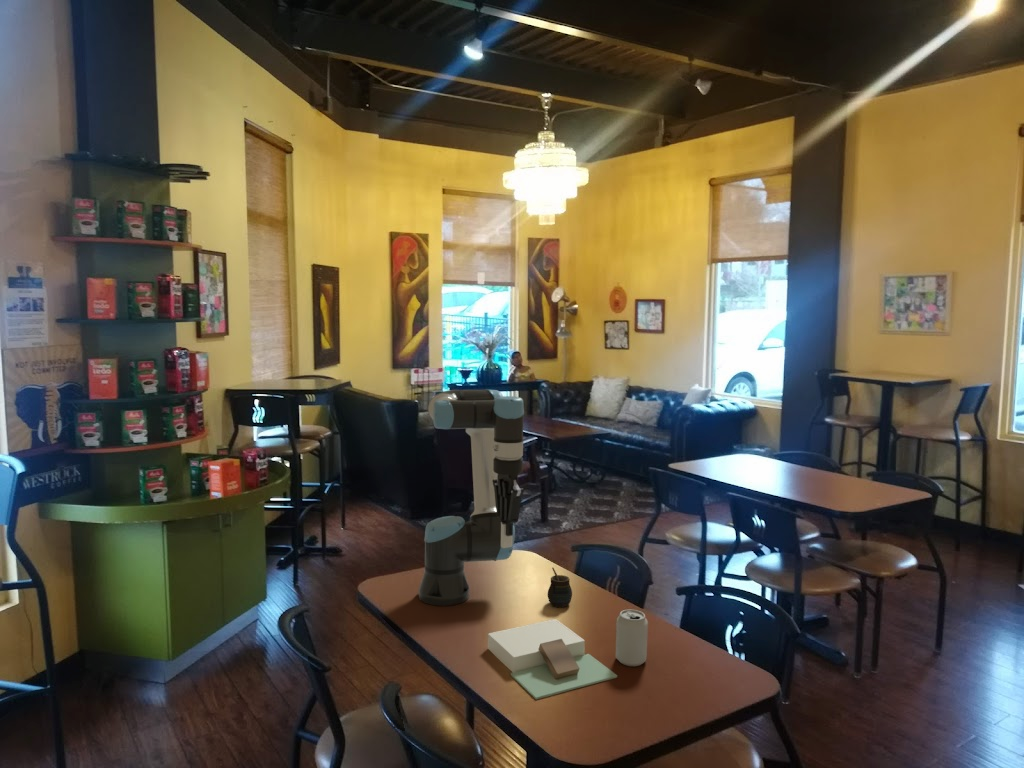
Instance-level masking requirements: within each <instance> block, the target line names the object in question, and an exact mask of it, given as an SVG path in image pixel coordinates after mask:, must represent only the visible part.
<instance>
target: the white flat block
mask: <svg viewBox="0 0 1024 768" xmlns="http://www.w3.org/2000/svg"><path fill="white" fill-rule="evenodd" d="M558 639H562V640H563V642H564V643H565V645H566V647H567V648H568V650H569V652H570V653H571V655H572V656H573V657H577V656H581V655H585V652H586V648H585V647H586V640H585V639H584V638H582V637H581V636H579V634H577V633H575V631H573V630H571V628H569V627H567V626H566V625H565V624H563V623H562V622H560V621H559V620H558V619H556V618H555V619H554V618H553V619H549V620H545V621H539V622H535V623H530V624H527V625H520V626H517V627H511V628H508V629H503V630H497V631H494V632H489V633H488V634H487V649H488V651H490V652H491V654H493V655H494V656H495V657H496V658H497V659H498V660H499V661H500V663H502V664H503V665H504V666H505V667H506V668H507V669H508V670H509V671H511V673H513V672H517V671H521V670H525V669H529V668H533V667H537V666H541V665H545V664H546V662H545V660H544V658H543V657H542V655H541V653H540V651H539V650H538V649H539V646H540V644H541V643H545V642H550V641H554V640H558Z"/></svg>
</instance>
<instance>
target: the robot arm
mask: <svg viewBox="0 0 1024 768" xmlns="http://www.w3.org/2000/svg"><path fill="white" fill-rule="evenodd" d="M427 411H428V415H429V417H430V419H431V420H432V423H433V427H434V428H435V429H437V430H438V429H440V430H457V429H458V430H460V429H461V430H462V429H465V433H466V434H467V435H468V436H470V444H471V448H470V449H471V464H472V465H471V466H472V467H471V468H472V482H473V484H472V485H473V503H474V504H473V505H474V511H473V512H472V513H471V515H470V516H469V521H465V518H463V517H462V516H459V515H457V516H455V515H448V516H447V515H446V516H442V517H437V518H434V519H433V520H430V521H429V522H428V523H427V524H426V526H425V530H424V531H425V532H424V537H423V539H424V572H423V575H422V578H421V581H420V585H419V588H418V599H419V600H420V601H421V602H423V603H425V604H428V605H430V606H431V605H432V606H445V607H446V606H454V605H458V604H462V603H464V602H466V601H467V600H468V599H469V598H470V586H469V583H468V580H467V576H466V572H465V566H464V565H465V563H469V562H471V563H472V562H488V561H489V562H491V561H494V562H496V561H502V560H505V561H506V560H507V559H509V558H510V557H511V555H512V553H513V551H514V550H513V549H514V543H515V534H516V533H515V532H516V531H515V530H516V529H515V523H518V522H519V516H520V510H521V503H522V498H523V497H522V496H523V495H524V488H523V487H522V488H521V487H520V486H519V477H518V476H519V474H522V472H523V471H524V470H523V468H524V467H523V466H524V465H523V464H524V459H523V458H522V457H523V456H524V418H525V417H524V415H525V407H524V399H523V398H522V397H520V396H519V397H518V396H514V395H513V396H512V395H510V396H507V395H506V396H505V395H504V396H503V394H502V393H501V392H500V391H499V390H497V389H488V388H484V389H450V390H446V391H442V392H439V393H437V394H435V395H434V396H433V397H432V398H431V399H430V401H429V402H428V406H427Z"/></svg>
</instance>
